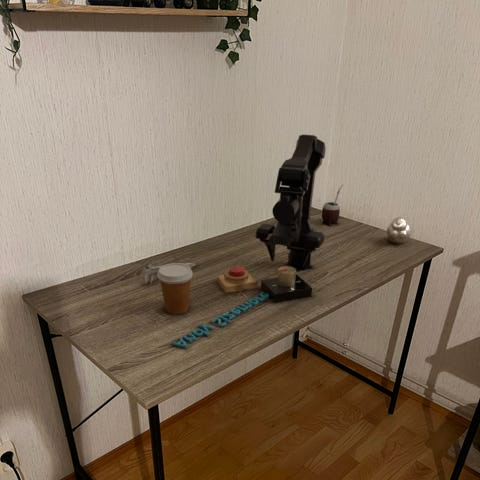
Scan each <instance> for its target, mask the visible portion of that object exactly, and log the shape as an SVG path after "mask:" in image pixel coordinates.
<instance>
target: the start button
mask: <svg viewBox="0 0 480 480" xmlns="http://www.w3.org/2000/svg"><path fill="white" fill-rule="evenodd" d="M228 270H229V275H230V276H233V277H241V276H243V275H244V270H245V269H244V267H242V266H237V265H234V266H231V267H229V269H228Z"/></svg>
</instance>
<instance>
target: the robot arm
mask: <svg viewBox="0 0 480 480" xmlns="http://www.w3.org/2000/svg"><path fill="white" fill-rule="evenodd" d="M326 151H327V150H326V144H325V142H324V141H322V140H321V139H319V138H318V136H317V135H314V134H303V133H302V134H299V136H298V139H297V140H296V145H295V149H294V151H293V153H292V156H291V158H289V159H286V160H284V162H283V163H282V164H281V166H280V167H279V168H278V172H277V177H276V182H275V186H274V187H275V188H274V193H275V194H279V199H278V200H277V202H276V203H275V204H274V205H273V207H272V216H273V218H274V219H275V220H276V221H277V225H276V226H275V224H271V223H270V224H269V223H262V224H261V225H259V226H258V227H257V228H256V229H255V233H254V235H255V239H258V240H259V242H261V243H263V244H264V245H265V246H266V249H267V252H268V254H269V258H270V261H271V262H274V261H275V256H276V246H278V245H280V246H283V247H286V250H289V252H288V256H287V262H286V264H287V266H289V267H293V268H295V269H296V272H297V271H302V270H308V269H313V265H311V258H312V257H311V256H312V254H313V252H316V250H317V249H319V248H321V246H322V245H323V244H324V242H325V234H324V233H323V232H321V231H315V230H314V226H313V224H312V222H311V212H312V204H313V196H314V188H315V180H316V172H317V171H318V170H319V168H320V167H321V166H322V165H323V159H325V156H326Z"/></svg>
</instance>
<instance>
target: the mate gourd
mask: <svg viewBox="0 0 480 480" xmlns="http://www.w3.org/2000/svg"><path fill="white" fill-rule="evenodd" d="M343 186H344V183H343V184H341V186H340V187H338V190H337V192H336V195H335V200H334V202H333V201H329V202H325V203H324V204H323V206H322V208H321V224H328V226H329V227H330V226H331V225H338V220H339V218H340V212H341V209H340V205H339V203H337V201H338V197H339V194H340V191H341V189H342V188H343Z"/></svg>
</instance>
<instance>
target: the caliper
mask: <svg viewBox="0 0 480 480" xmlns="http://www.w3.org/2000/svg"><path fill="white" fill-rule="evenodd" d="M184 264H185V265H188V266H189V267H190V268H191V269H192V268H194V267H196V266H197V264H195V263H193V262H187V263H184ZM162 266H163V265H157V266H152V264H150V263H149V264H145V268H143V271H142V272H143V273H142V278H143V284H145V285H148V283H149V284H152V283H153V281H154V278H155V275H156V276H157V274H158V272H159V269H160V268H161V267H162Z"/></svg>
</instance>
